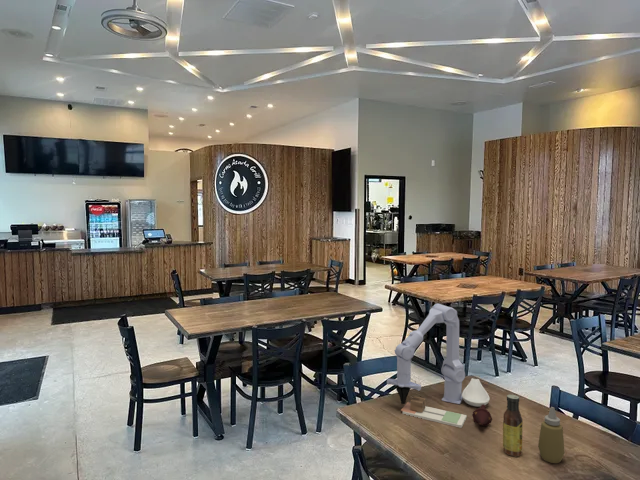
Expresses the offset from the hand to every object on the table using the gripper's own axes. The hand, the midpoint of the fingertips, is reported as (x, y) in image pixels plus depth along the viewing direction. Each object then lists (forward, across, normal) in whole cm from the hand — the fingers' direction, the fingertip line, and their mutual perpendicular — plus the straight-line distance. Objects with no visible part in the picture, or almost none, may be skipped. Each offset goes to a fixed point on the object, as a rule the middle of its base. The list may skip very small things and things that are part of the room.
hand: (403, 403), depth 185 cm
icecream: (+3, +32, +2) cm, 32 cm away
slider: (+1, +6, 0) cm, 6 cm away
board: (+2, +13, 0) cm, 14 cm away
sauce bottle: (+3, +44, -14) cm, 47 cm away
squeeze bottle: (+3, +56, -12) cm, 58 cm away
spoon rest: (+3, +25, +26) cm, 36 cm away
